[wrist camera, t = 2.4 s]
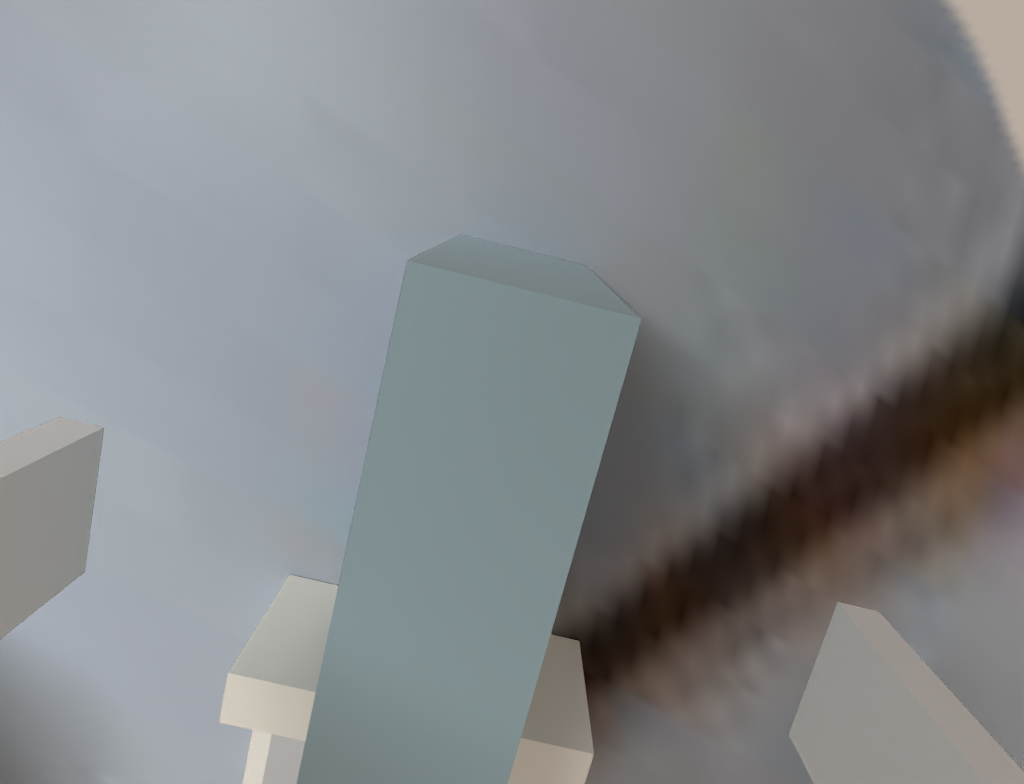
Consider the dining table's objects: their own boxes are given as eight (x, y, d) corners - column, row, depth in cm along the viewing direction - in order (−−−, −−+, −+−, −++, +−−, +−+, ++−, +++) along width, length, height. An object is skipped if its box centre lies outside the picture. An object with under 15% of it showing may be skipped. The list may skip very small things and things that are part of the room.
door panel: (461, 234, 21) (406, 260, 11) (586, 265, 21) (641, 319, 11) (386, 564, 23) (287, 825, 13) (499, 590, 23) (482, 867, 14)
